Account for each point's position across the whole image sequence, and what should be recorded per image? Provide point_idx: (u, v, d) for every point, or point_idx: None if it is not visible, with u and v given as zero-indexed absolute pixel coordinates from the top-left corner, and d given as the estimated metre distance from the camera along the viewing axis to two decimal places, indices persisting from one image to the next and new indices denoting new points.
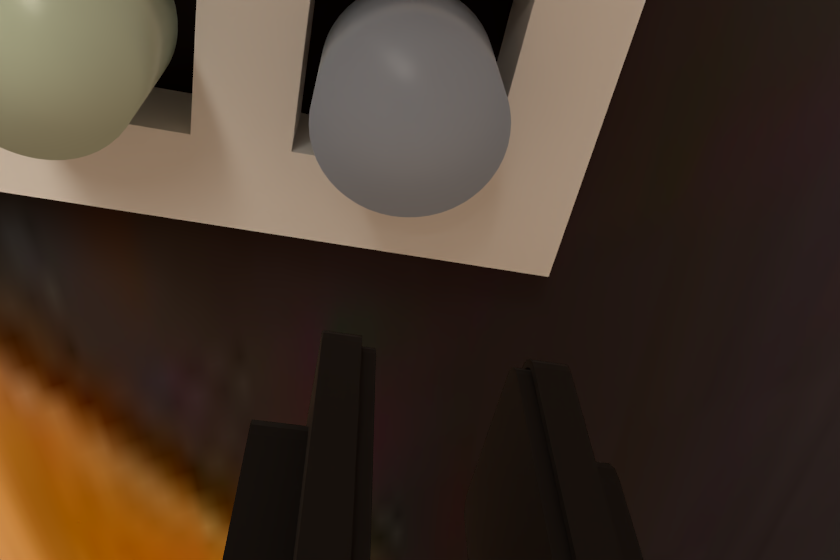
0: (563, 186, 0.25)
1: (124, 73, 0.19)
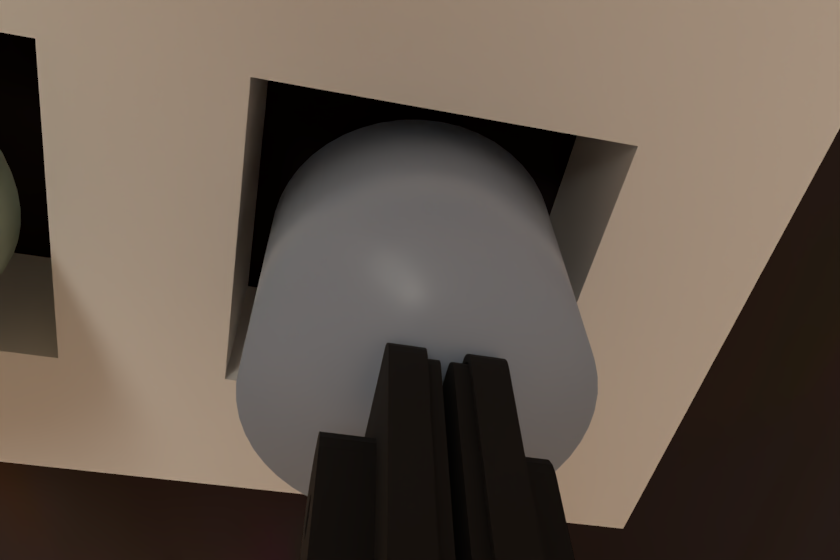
0: (656, 419, 0.16)
1: None
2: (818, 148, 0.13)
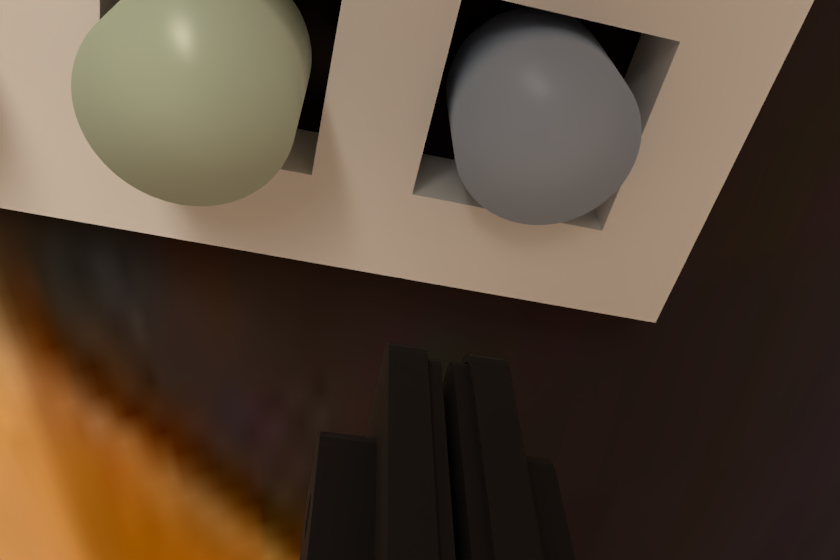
0: (681, 234, 0.25)
1: (280, 122, 0.18)
2: (785, 46, 0.22)
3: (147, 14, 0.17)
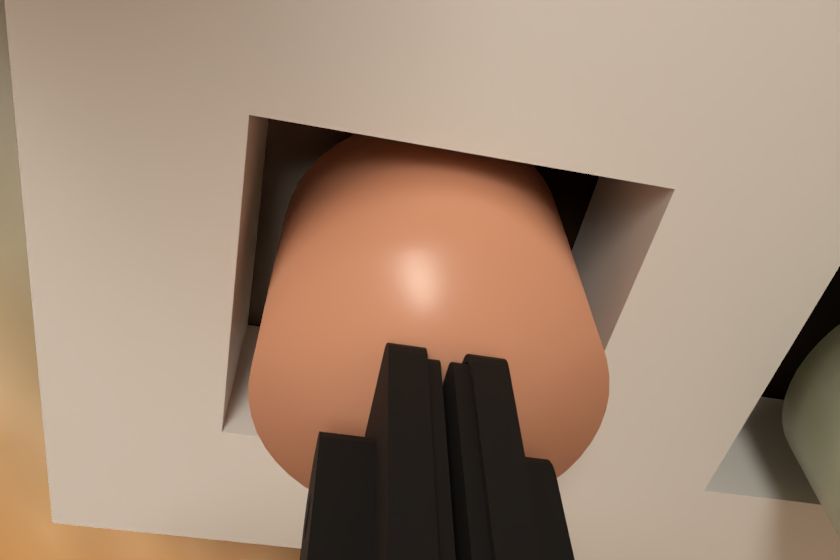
0: None
1: None
2: None
3: None
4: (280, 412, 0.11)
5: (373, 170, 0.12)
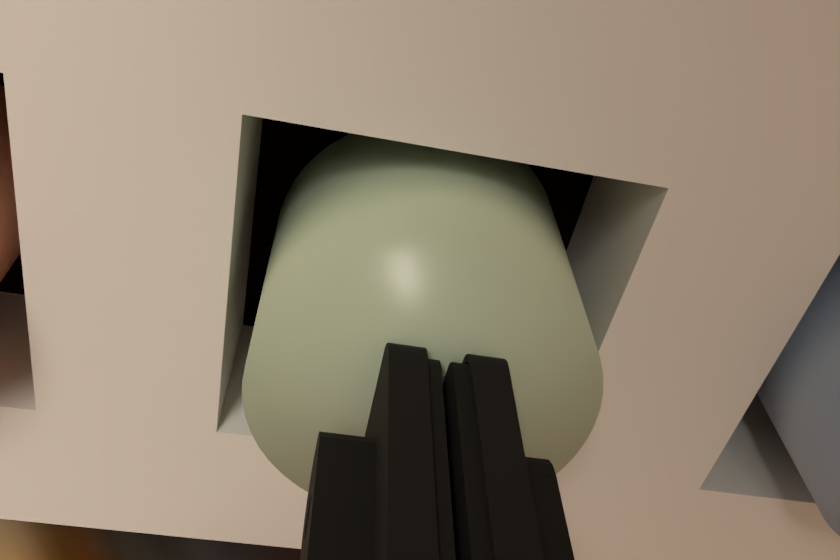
0: None
1: (572, 415, 0.11)
2: None
3: (382, 280, 0.10)
4: None
5: None
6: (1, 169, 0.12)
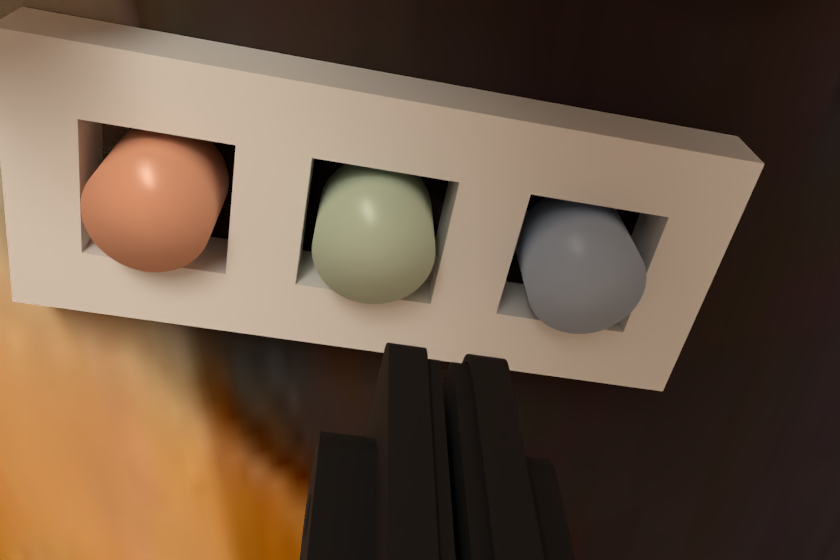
0: (677, 333, 0.37)
1: (426, 257, 0.33)
2: (736, 217, 0.34)
3: (358, 206, 0.31)
4: (93, 221, 0.31)
5: (132, 137, 0.32)
6: (220, 179, 0.33)
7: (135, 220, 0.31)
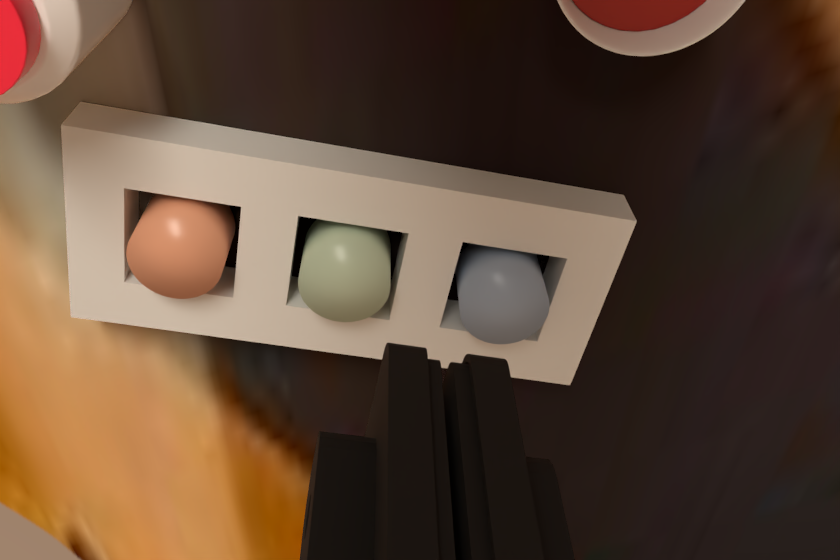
0: (578, 342, 0.48)
1: (383, 289, 0.44)
2: (618, 259, 0.45)
3: (332, 252, 0.42)
4: (135, 262, 0.42)
5: (163, 198, 0.43)
6: (229, 227, 0.44)
7: (167, 262, 0.42)
